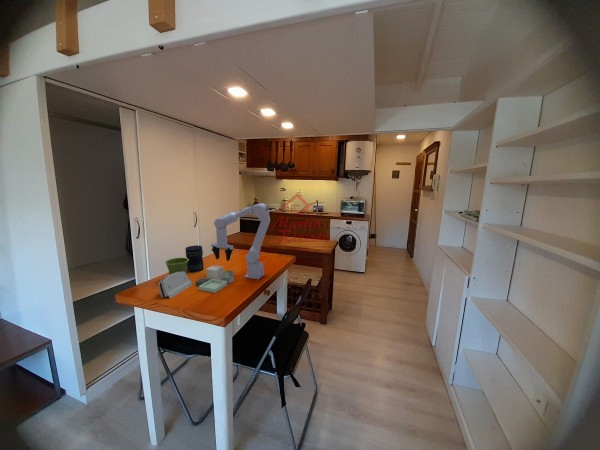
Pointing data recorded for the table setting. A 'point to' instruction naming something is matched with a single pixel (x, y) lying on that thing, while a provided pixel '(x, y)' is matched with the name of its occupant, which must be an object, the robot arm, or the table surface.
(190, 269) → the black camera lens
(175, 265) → the plant pot
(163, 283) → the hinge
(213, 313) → the table surface
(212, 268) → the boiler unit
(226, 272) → the block
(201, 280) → the square block
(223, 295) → the table surface
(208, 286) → the tray
